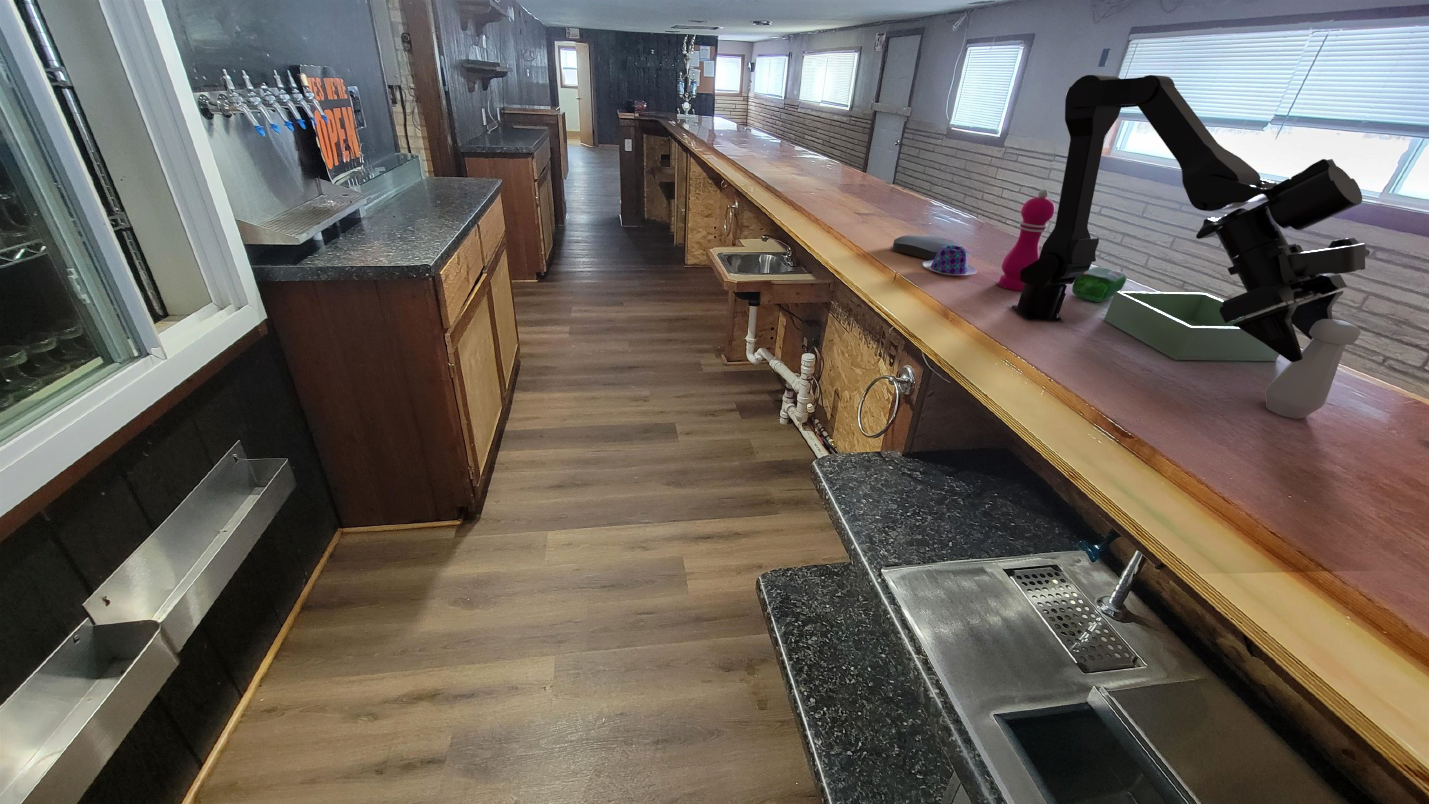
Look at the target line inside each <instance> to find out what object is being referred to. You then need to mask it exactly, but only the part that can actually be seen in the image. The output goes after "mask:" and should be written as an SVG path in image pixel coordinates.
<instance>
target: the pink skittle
mask: <svg viewBox="0 0 1429 804" xmlns="http://www.w3.org/2000/svg"><path fill="white" fill-rule="evenodd" d="M1048 195H1049V191H1048V190H1047V189H1041V190H1039V191H1038V193H1037V197H1033V198H1030V199H1028V200H1027V201H1025V203H1024V204H1023V205H1022V207H1021V210H1020V216H1021V217H1022V220H1021V221H1020V222H1019V223H1020V225H1019V226H1018V229H1020V231H1019V236H1018V238H1017V241H1016V242H1015V245H1014V246H1013V247H1012V249H1011V250H1010V251H1008V253H1007V254H1006V256H1005V257H1004V259H1003V261H1002V263H1001V269H1002V272H1003V274H1002V275H1001V276H1000V278H999V281H998V285H999V286H1000V287H1002V288H1004V289H1008V290H1010V291H1017V292H1022V290H1023V287H1024V284H1025V283H1024V282H1021V270H1022V269H1023V268H1025V267H1027V266H1028V265H1030V264H1032V263H1034V262H1035V261H1037V260H1038V259H1039V256H1040V252H1039V245H1040V241H1041V237H1042V235H1043V233H1045V232H1046V231H1047V227H1048V224H1047V222H1049V221H1050V220H1051V219H1052V218H1053V216H1055V212H1056V206H1055V203H1054V202H1053V201H1052V200H1051V199H1049V198H1047V197H1048Z"/></svg>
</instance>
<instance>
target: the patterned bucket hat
mask: <svg viewBox="0 0 1429 804" xmlns="http://www.w3.org/2000/svg"><path fill="white" fill-rule="evenodd" d="M922 266H923V267H924V268H925V269H927V270H930V271H932V272H935V273H937V274H941V275H945V276H953V277H955V276H956V277H959V276H960V277H961V276H972V275H975V274H977V272H978V270H977V269H976V268H975V267H974V266H972V265H969V264H968V250H967V248H965V247H964V246H963V247H958V246H950V245H945V246H942V247H941V248H940V249H939V251H938V253H937V255H936V257H935V259H934V260H931V259H929V260H926V261H923V262H922Z"/></svg>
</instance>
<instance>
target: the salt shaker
mask: <svg viewBox="0 0 1429 804" xmlns="http://www.w3.org/2000/svg"><path fill="white" fill-rule="evenodd" d="M1361 333H1362V331H1361V329H1360V328H1359V326H1357V325H1356V324H1353V323H1350V322H1348V321H1345V320H1339V319H1334V318H1332V319H1322V320H1319V321H1317V322H1315V324H1314V325H1313V326H1312V327H1311V329H1310V331H1309V334H1310V335H1311V336H1312V337H1313V338H1312V339H1311V340H1310V339H1309V341H1308V342H1307V344H1306V345H1305V346H1304V347H1303V348H1302V349H1301V352H1302V356H1303V359H1302V360H1300V361H1296V362H1289V364H1288V365H1286V367H1285V368H1284V369H1283V370H1282V371H1281V372H1280V373H1279V374H1278V376H1277V377H1275V378H1274V380H1273V381H1272V382H1271V383H1270V384H1269V385H1268V386H1267V387H1266V389H1265V391H1264V392H1265V399H1266V400H1265V402H1266V409H1267V410H1269V411H1271V412H1272V413H1275V414H1276V415H1278V416H1281V417H1286V418H1291V419H1295V420H1299V419H1303V418H1307V417H1308V416H1310V415H1311V414H1313V413H1314V412H1316V411H1317V410H1318V411H1319V409H1321V408H1323V406H1324V405H1325V404H1326V401H1327V398H1328V395H1329V393H1330V391H1331V388H1332V384H1333V381H1334V379H1335V376H1336V372H1337V370H1338V367H1339V364H1340V361H1341V359H1342V356H1343V353H1344V350H1345V347H1346V346H1350V345H1352V344H1354V343H1355V342H1356V341H1357V340H1358V339H1359V337H1360V335H1361Z"/></svg>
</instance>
